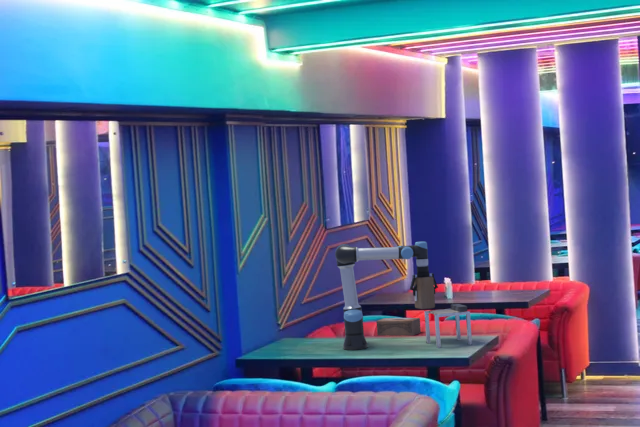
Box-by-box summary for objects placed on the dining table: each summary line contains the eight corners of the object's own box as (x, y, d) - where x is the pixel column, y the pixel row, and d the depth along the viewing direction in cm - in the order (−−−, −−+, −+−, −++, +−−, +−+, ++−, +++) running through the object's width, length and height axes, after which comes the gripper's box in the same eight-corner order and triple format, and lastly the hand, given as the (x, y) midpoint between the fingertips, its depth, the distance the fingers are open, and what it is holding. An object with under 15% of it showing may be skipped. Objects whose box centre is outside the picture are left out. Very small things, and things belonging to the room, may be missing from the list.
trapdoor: (429, 312, 596) (429, 306, 596) (458, 310, 600) (457, 303, 600) (438, 315, 580) (437, 309, 579) (467, 312, 583) (467, 306, 583)
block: (421, 309, 602) (419, 277, 602) (414, 308, 611) (412, 277, 611) (435, 307, 606) (433, 276, 606) (428, 306, 615) (426, 275, 615)
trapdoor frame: (426, 342, 598) (424, 311, 598) (459, 339, 603) (457, 307, 602) (437, 347, 577) (435, 314, 577) (472, 344, 581) (469, 311, 581)
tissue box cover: (420, 332, 646) (419, 317, 645) (413, 336, 633) (412, 321, 632) (385, 332, 657) (384, 318, 657) (377, 336, 644) (376, 321, 644)
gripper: (406, 267, 602) (408, 302, 603) (441, 264, 607) (443, 299, 607) (403, 266, 610) (405, 301, 610) (438, 264, 614) (440, 298, 615)
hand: (424, 300), depth 609 cm, fingers closed on block, 11 cm apart
